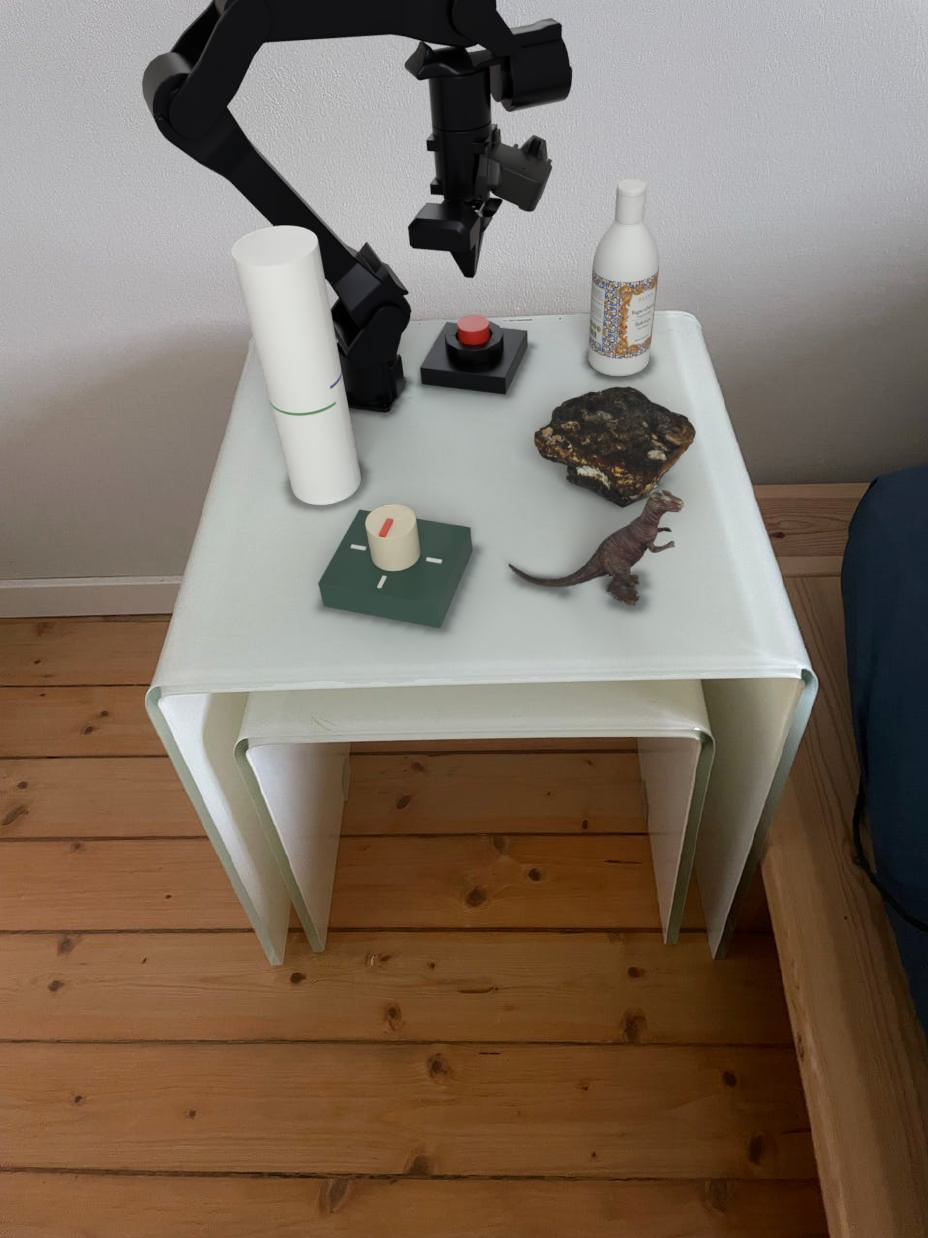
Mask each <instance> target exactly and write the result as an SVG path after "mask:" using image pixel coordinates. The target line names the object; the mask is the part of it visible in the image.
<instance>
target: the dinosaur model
mask: <svg viewBox="0 0 928 1238" xmlns="http://www.w3.org/2000/svg"><path fill="white" fill-rule="evenodd" d="M684 506H685V502H684V501H683V500H682V498H681V497H680V498H679V497H677V496H675V495H673V493H672V492H671V491H669V490H666V489H659V490H655V491H653V492H651V493H650V495H649V496H648V497H647V500H646V503H645V504H644V507H643V509H642V512H641V514H640V515H639V516H637V517H636V518H635V519H633V520H632V521H630V522H629V524H628V525H625V526H623V527H622V528H619V529H618V530H615V531H614V532H613V533H611V534H609V535H608V536H607V537H606V538H604V540H602V542H601V543H600V544H599V545H598V547H597V549H595V552H594V553H593V554H591V555H592V556H591V557H590V558H589V559H588V560H587V561H586V562H585V564H583V565H582V566H581V567H580V568H578V569H577V570H576V571H574V572H573V573H570V574H569V575H566V576H562V577H559V578H558V577H557V578H540V577H536V576H532V575H530V574H528V573H526V572H524V571H523V570H521V569H519V568H517V567H515V565H513V564H511V562H509V563H508V564H507V566H508V568H509V569H511V571H512V572H513V573H515V575H517V576H518V577H520V578H522V579H523V580H524V581H526V582H527V583H529V584H533V585H536V586H540V587H542V586H543V587H547V588H563V587H571V586H576V585H580V584H583V583H584V584H585V583H586V582H590V581H592V580H595V579H597V578H600V577H601V578H602V577H605V576H606V577H607V578H609V577H613V578H612V579H611V581H610V583H609V584H608V585H607V586H606V588H605V593H609V594H611V595H612V596H613V597H614V598H615V599H616V600H618V601H620V602H622V603H623V604H624V605H630V606H636V605H638V604H637V603H638V601H640V599H641V596H639V595H637V594H638V593H639V591H638V590H636V589H635V588H637V585H640V581H639V580H638V579H639V578H640V577H639V575H637V574H631V569H632V568H633V567H634V566H635V565H636V564H637V563H638V562H639V561H641V559H642V558H643V557H644V555H645V553H646V552H647V550H649V552H651V553H652V554H657V553H660V552H663V551H665V550H667V549H673V548H676V545H675V541H674V540H669V541H668V542H667V543H665V544H664V545H659V546H657V545H655V541H656V539H657V537H658V534H659V533H662V532H666V533H672V532H673V531H672V529H671V528H670V527H666V526H663V527H659V525H660V524H661V518H663V515H665V514H666V513H667V512H669V513H680V512H681V511H682V509H683V508H684ZM623 586H624V587H626V588H628V589H625V588H624V589H623V588H621V587H623Z"/></svg>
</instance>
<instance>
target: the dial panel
mask: <svg viewBox="0 0 928 1238" xmlns="http://www.w3.org/2000/svg"><path fill="white" fill-rule="evenodd" d="M372 511H373V510H367V509H358V511H357V512H356V514H355V516H354V518H353V520H352V522H351V523H350V525H349V527H348V529H347V531H346V532H345V534H344V536H343V538H342V540H341V541H340V543H339V545H338V547H337V548H336V550H335V552H334V553H333V556H332V557H331V559H330V560H329V563H328V564H327V566H326V568H325V570H324V572H323V574H322V576H321V577H320V578H319V580H318V583H317V584H318V589H319V593H320V597H321V601H322V605H323V607H326V608H330V609H331V608H332V609H336V610H341V611H346V612H352V613H357V614H363V615H367V616H373V617H377V618H384V619H388V620H395V621H399V622H405V623H410V624H416V625H421V626H426V627H430V628H435V629H440V628H442V624H443V622H444V619H445V617H446V615H447V612H448V610H449V608H450V605H451V603H452V600H453V598H454V596H455V593H456V591H457V589H458V586H459V583H460V581H461V580H462V576H463V574H464V571H465V569H466V567H467V565H468V562H469V560H470V558H471V554H472V552H473V539H472V528H471V527H470V526H465V525H459V524H452V523H446V522H441V521H440V522H439V521H434V520H428V519H421V518H416V521H417V529H418V536H419V544H420V557H419V559H418V560H417V562H416V563H415V564H414V565H412V566H411V567H409V568H407V569H404V570H400V571H386V570H383V569H381V568H379V567H377V566H376V565H375V564H374V563H373V561H372V558H371V552H370V547H369V542H368V536H367V531H366V525H365V522H366V518H367V516H368V515H369V514H370V513H371V512H372Z"/></svg>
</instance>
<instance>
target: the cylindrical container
mask: <svg viewBox="0 0 928 1238" xmlns="http://www.w3.org/2000/svg"><path fill="white" fill-rule="evenodd" d="M230 250H231V252H230V253H231V257H232V261H233V264H234V269H235V272H236V276H237V280H238V284H239V289H240V291H241V296H242V299H243V303H244V307H245V312H246V315H247V320H248V323H249V327H250V330H251V335H252V339H253V342H254V347H255V350H256V354H257V358H258V363H259V366H260V369H261V373H262V377H263V382H264V386H265V390H266V393H267V397H268V402H269V405H270V409H271V413H272V417H273V420H274V424H275V428H276V432H277V437H278V440H279V444H280V448H281V452H282V456H283V459H284V463H285V468H286V471H287V475H288V479H289V483H290V486H291V487H290V488H291V490H292V493H293V495H294V496H295V497H296V499H298V500H299V501H301V502H303V503H306V504H308V505H309V504H310V505H313V506H326V505H327V506H328V505H332V504H333V505H334V504H336V503H339V502H342V501H344V500H346V499H348V498H350V497H351V496H352V495H353V494H354V493H356V491H358V488H359V487H360V484H361V482H362V476H361V469H360V464H359V458H358V454H357V453H358V452H357V447H356V442H355V436H354V432H353V426H352V420H351V415H350V408H349V407H348V403H347V398H346V392H345V387H344V381H343V376H342V371H341V365H340V359H339V354H338V348H337V339H336V337H335V332H334V326H333V321H332V315H331V310H330V309H331V305H330V299H329V293H328V288H327V283H326V282H327V281H326V279H325V277H324V271H323V266H322V260H321V255H320V249H319V244H318V239H317V236H316V235H315V234H314V233H313V232H312V231H310V230H308V229H305V228H302V227H298V226H273V225H272V226H269V227H264V228H260V229H256V230H254V231H251V232H248V233H247V234H245V235H242V236H241V237H240V238H239V239H237V240H236V241H235V242H234V244H233V245H232V246H231V249H230Z"/></svg>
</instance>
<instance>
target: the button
mask: <svg viewBox="0 0 928 1238" xmlns="http://www.w3.org/2000/svg"><path fill="white" fill-rule="evenodd" d="M489 321H490V320H489V318H487V317H486V316H483V315H479V314H471V315H466V316H464V317H461V318H460V319H459V320H458V321H457V322H456V323H457V328H458V339H459V341H460V342H461V343H463V344H469V345H476V344H482V343H484V342H486V341H488V340H489V338H490V329H489Z"/></svg>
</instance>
